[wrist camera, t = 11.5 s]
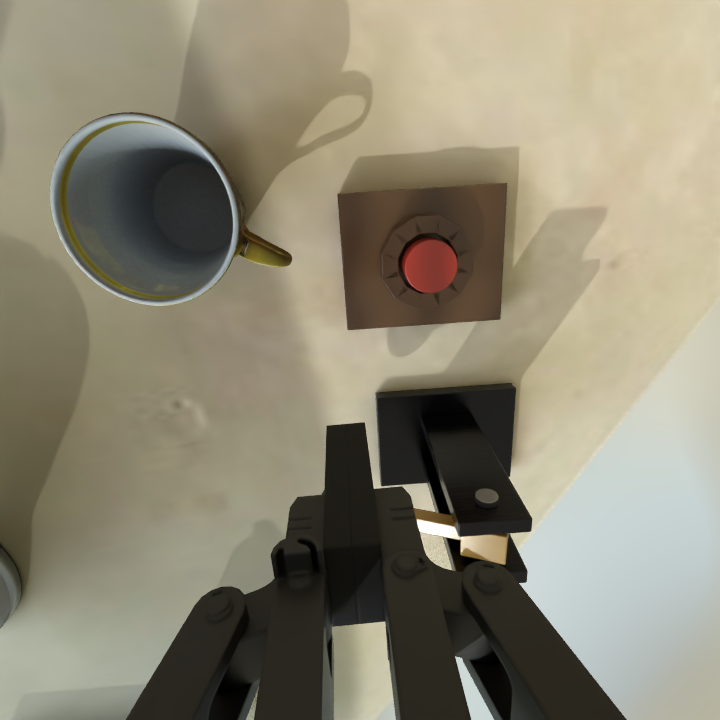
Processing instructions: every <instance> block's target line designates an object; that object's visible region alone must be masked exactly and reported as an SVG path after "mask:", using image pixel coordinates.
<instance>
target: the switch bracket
mask: <svg viewBox="0 0 720 720" xmlns="http://www.w3.org/2000/svg"><path fill="white" fill-rule="evenodd" d="M515 395H516V388H515V387H514V386H513V385H512V383H505V384H491V385H477V386H463V387H449V388H435V389H421V390H407V391H393V392H379V393H376V412H377V431H378V449H379V468H380V482H381V486H390V485H403V484H417V483H427V484H428V487H429V491H430V494H431V498H432V501H433V505H434V508H435V512H436V513H441V514H447V515H451V516H452V519H453V522H454V525H455V528H456V531H457V534H458V536H459V537H466V536H479V535H493V534H506V533H519V532H530V531H531V527H532V517H531V516H530V514H529V512H528V510H527V509H526V507H525V505H524V504H523V502H522V500H521V498H520V497H519V495H518V493H517V491H516V490H515V488H514V486H513V484H512V483H511V481H510V479H509V477H510V470H511V455H512V440H513V425H514V410H515ZM443 539H444V543H445V546H446V550H447V553H448V557H449V560H450V563H451V567H452V570H453V571H458V572H463V571H464V569H465V568H466V567H467V566H468V565H470V564H471V563H473V562H477V561H485V560H480V559H476V558H471V557H467V556H462V555H461V554H460V542H461V540H456V539H452V538H447V537H443ZM497 564H499V563H497ZM499 565H501V566H503V567H504V568H506V569H507V570H508V571H509V572H510V573H511V574H512V575H513V577H514V578H515V579H516V580H517V582H518V583H525V582H527V569H526V567H525V565H524V563H523V561H522V559H521V556H520V554H519V552H518V550H517V548H516V546H515V544H514V542H513V540H512V538H511V536H510V534H509V536H508V547H507V557H506V564H505V565H503V564H499Z"/></svg>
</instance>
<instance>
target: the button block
mask: <svg viewBox="0 0 720 720" xmlns="http://www.w3.org/2000/svg"><path fill="white" fill-rule="evenodd" d="M506 196H507V183H494V184H479V185H464V186H448V187H433V188H418V189H403V190H387V191H372V192H357V193H342V194H338V207H339V220H340V234H341V247H342V261H343V274H344V288H345V301H346V315H347V328H348V330H356V329H371V328H385V327H399V326H414V325H428V324H443V323H457V322H472V321H486V320H500V315H501V295H502V275H503V255H504V235H505V215H506ZM426 237H431V238H436V239H438V240H440V241H442V242H444V243H446V244H447V245H449V246H450V247H451V248H452V250H453V251H454V253H455V255H456V258H457V272H456V275H455V277H454V279H453V281H452V282H451V283H450V284H449V285H448V286H447V287H446V288H444V289H443V290H441V291H439V292H435V293H424V292H421V291H418V290H416V289H415V288H414V287H412V285H411V284H410V283H409V282H408V280H407V279H406V277H405V276H404V273H403V270H402V259H403V255H404V253H405V251H406V249H407V248H408V247H409V246H410V245H411V244H412V243H413V242H415V241H416V240H418V239H421V238H426Z"/></svg>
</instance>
